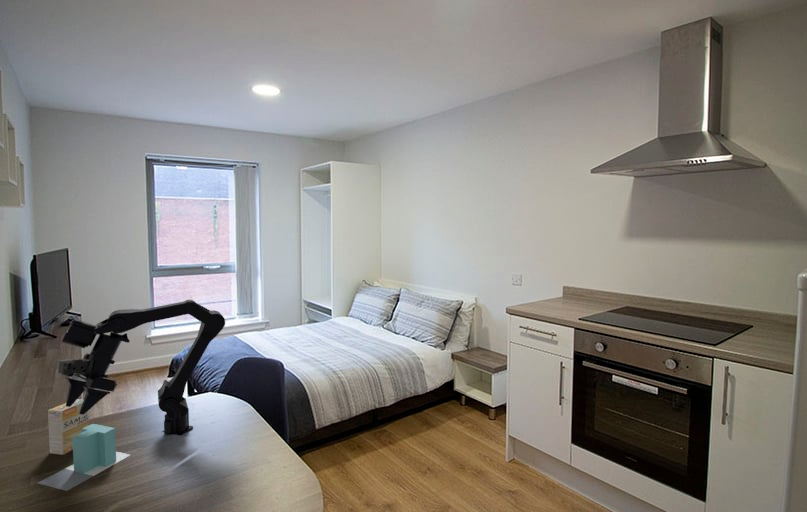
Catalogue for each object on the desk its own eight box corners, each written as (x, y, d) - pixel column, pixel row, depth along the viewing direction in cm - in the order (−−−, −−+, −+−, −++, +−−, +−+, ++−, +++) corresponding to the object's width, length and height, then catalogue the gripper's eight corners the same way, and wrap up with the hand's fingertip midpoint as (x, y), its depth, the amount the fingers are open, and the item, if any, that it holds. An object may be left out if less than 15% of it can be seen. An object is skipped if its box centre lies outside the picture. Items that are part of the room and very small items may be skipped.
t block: (94, 455, 119) (92, 423, 118) (116, 460, 116) (115, 428, 116) (67, 469, 112) (65, 435, 111) (90, 475, 110) (89, 440, 109)
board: (103, 451, 122) (103, 448, 122) (131, 457, 119) (130, 454, 119) (37, 485, 106) (37, 482, 106) (66, 493, 103) (66, 490, 103)
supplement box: (63, 457, 119) (61, 411, 118) (49, 455, 120) (46, 409, 119) (90, 443, 127) (88, 399, 126) (77, 441, 128) (75, 398, 127)
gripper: (58, 341, 122) (28, 397, 117) (86, 351, 112) (54, 413, 106) (99, 351, 131) (73, 404, 125) (129, 361, 120) (101, 420, 115)
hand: (74, 410), depth 118 cm, fingers open, 9 cm apart
